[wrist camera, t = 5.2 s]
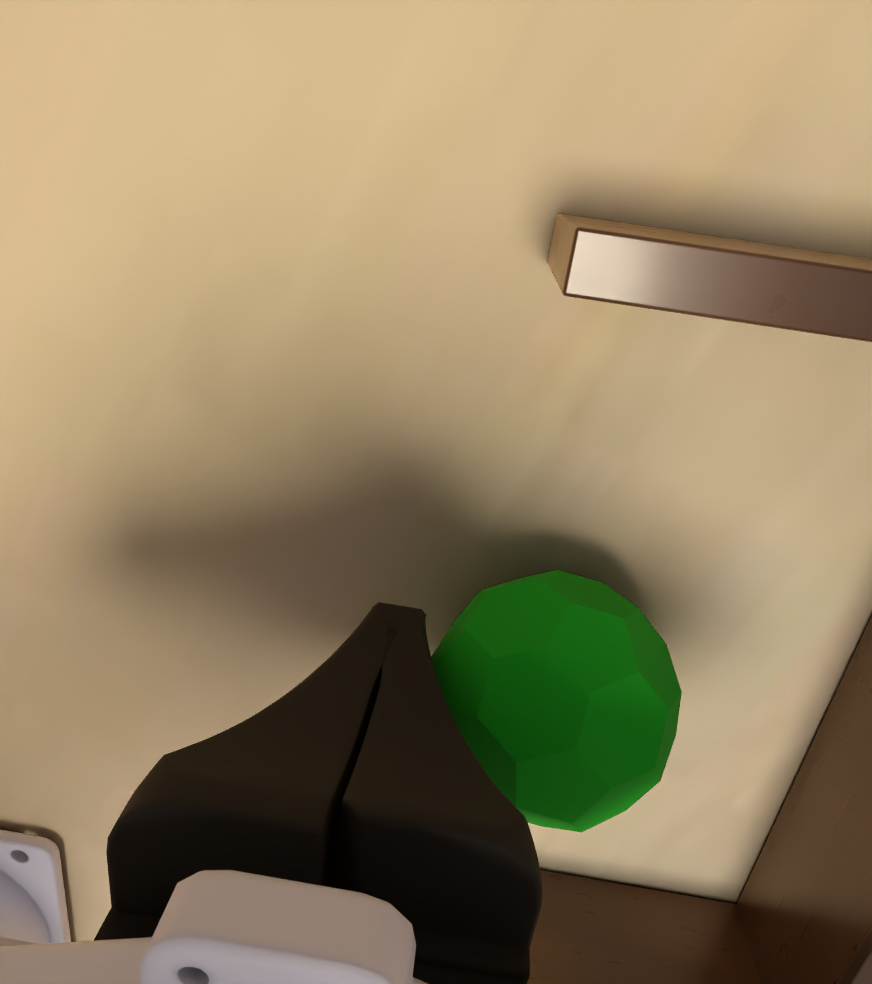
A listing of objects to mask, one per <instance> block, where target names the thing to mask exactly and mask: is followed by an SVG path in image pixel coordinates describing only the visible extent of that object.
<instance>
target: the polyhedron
mask: <svg viewBox="0 0 872 984" xmlns="http://www.w3.org/2000/svg"><path fill="white" fill-rule="evenodd" d="M431 659H432V662H433V666H434V669H435V673H436V676H437V679H438V682H439V685H440V687H441V690H442V693H443V695H444V698H445V700H446V703H447V705H448V707H449V710H450V712H451V714H452V716H453V718H454V720H455V722H456V724H457V726H458V728H459V730H460V732H461V734H462V735H463V737H464V739H465V741H466V742H467V744H468V746H469V748H470V749H471V751H472V752H473V754H474V755H475V756H476V758H477V759H478V761H479V762H480V764H481V765H482V767H483V768H484V770H485V771H486V773H487V774H488V776H489V777H490V778H491V780H492V781H493V782H494V783H495V785H496V786H497V787H498V788H499V790H500V791H501V792H502V793H503V794H504V795H505V796H506V797H507V798H508V799H509V801H510V802H511V803H512V804H513V805H514V806H515V807H516V808H517V809H518V810H519V811H520V812H521V813H522V814H523V815H524V816H525V818H526V820H527V822H529V823H532V824H536V825H539V826H544V827H551V828H558V829H564V830H571V831H577V832H583V831H585V830H587V829H589V828H591V827H593V826H595V825H597V824H599V823H601V822H603V821H605V820H607V819H609V818H612V817H614V816H616V815H618V814H620V813H622V812H624V811H626V810H627V809H628V808H629V807H630V806H631V805H633V804H634V803H635V802H636V801H637V800H639V799H640V798H641V797H642V796H643V795H644V794H646V793H647V792H648V791H649V790H650V789H651V788H653V787H654V786H655V785H656V784H657V783H658V782H660V780H661V777H662V774H663V771H664V768H665V765H666V762H667V759H668V756H669V754H670V751H671V748H672V745H673V742H674V739H675V736H676V730H677V722H678V715H679V707H680V700H681V689H680V686H679V683H678V679H677V676H676V673H675V670H674V667H673V664H672V661H671V658H670V654H669V651H668V648H667V645H666V643H665V642H664V641H663V639H662V638H661V637H660V635H659V634H658V633H657V631H656V630H655V629H654V627H653V626H652V625H651V624H650V622H649V621H648V620H647V618H646V617H645V616H644V614H643V613H642V612H641V610H640V609H639V608H638V607H637V606H635V605H634V604H633V603H631V602H630V601H628V600H627V599H625V598H624V597H623V596H621V595H620V594H618V593H617V592H615V591H614V590H613V589H611V588H610V587H608V586H607V585H605V584H604V583H601V582H598V581H594V580H591V579H588V578H584V577H581V576H578V575H574V574H571V573H568V572H564V571H561V570H555V571H550V572H546V573H541V574H536V575H531V576H527V577H522V578H519V579H516V580H512V581H509V582H506V583H502V584H499V585H496V586H493V587H489V588H486V589H483V590H481V591H480V592H479V593H478V594H477V595H476V596H475V598H474V599H473V600H472V601H471V602H470V603H469V605H468V606H467V607H466V608H465V609H464V611H463V612H462V613H461V614H460V615H459V616H458V618H457V619H456V620H455V621H454V623H453V624H452V626H451V627H450V629H449V630H448V632H447V634H446V635H445V637H444V638H443V640H442V641H441V643H440V645H439V646H438V648H437V649H436V651H435V652H434V654H433V655H432V657H431Z"/></svg>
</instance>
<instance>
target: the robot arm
mask: <svg viewBox="0 0 872 984" xmlns="http://www.w3.org/2000/svg"><path fill="white" fill-rule="evenodd" d="M425 618H426V614H425V613H424V612H423V610H422V609H417V608H411V607H405V606H399V605H393V604H387V603H380V602H379V603H377V604H375V605H374V606H373V607H372V609H371V610H370V612H369V613H368V614H367V616H366V617H365V618H364V620H363V621H362V622H361V624H360V625H359V626H358V627H357V628H356V630H355V631H354V632H353V633H352V634H351V635H350V636H349V638H348V639H347V640H346V641H345V642H344V643H343V644H342V645H341V646H340V647H339V648H338V649H337V650H336V651H335V652H334V653H333V654H332V655H331V656H330V657H329V658H328V659H327V660H326V661H325V662H324V663H323V664H322V665H321V666H320V667H318V668H317V669H316V670H315V671H314V672H313V673H312V674H311V675H310V676H309V677H307V678H306V679H305V680H304V681H302V682H301V683H300V684H299V685H297V686H296V687H295V688H294V689H292V690H291V691H290V692H288V693H287V694H286V695H284V696H283V697H281V698H280V699H279V700H277V701H276V702H274V703H272V704H271V705H269V706H268V707H266V708H265V709H263V710H262V711H260V712H259V713H257V714H255V715H254V716H252V717H250V718H249V719H247V720H245V721H243V722H241V723H239V724H237V725H235V726H234V727H232V728H230V729H228V730H225V731H223V732H221V733H219V734H217V735H215V736H213V737H210V738H208V739H206V740H203V741H201V742H198V743H195V744H193V745H190V746H187V747H185V748H182V749H180V750H177V751H174V752H171V753H169V754H166V755H164V756H163V757H162V758H161V759H160V760H159V761H158V763H157V764H156V765H155V766H154V767H153V769H152V770H151V771H150V772H149V774H148V775H147V776H146V777H145V779H144V780H143V781H142V782H141V784H140V785H139V786H138V788H137V789H136V790H135V792H134V793H133V795H132V796H131V798H130V800H129V801H128V803H127V805H126V806H125V808H124V810H123V812H122V813H121V815H120V817H119V818H118V820H117V822H116V823H115V825H114V827H113V829H112V831H111V833H110V835H109V836H108V843H107V863H108V873H109V884H110V894H111V905H112V908H111V909H110V911H109V913H108V915H107V917H106V919H105V920H104V922H103V924H102V926H101V928H100V930H99V932H98V933H97V935H96V937H95V939H94V941H82V942H71V936H70V929H69V921H68V913H67V906H66V898H65V890H64V883H63V875H62V867H61V860H60V852H59V849H58V847H57V845H56V844H55V843H54V842H53V841H51V840H50V839H47V838H44V837H40V836H34V835H28V834H23V833H17V832H12V831H6V830H0V984H527V982H528V980H529V976H530V945H531V941H532V938H533V934H534V931H535V927H536V924H537V921H538V917H539V914H540V910H541V906H542V896H543V889H542V879H541V873H540V868H539V863H538V858H537V854H536V850H535V846H534V842H533V839H532V835H531V832H530V829H529V826H528V823H527V820H526V818H525V816H524V815H523V814H522V813H521V812H520V811H519V810H518V809H517V808H516V807H515V806H514V805H513V804H512V803H511V802H510V801H509V799H508V798H507V797H506V796H505V795H504V794H503V793H502V792H501V791H500V790H499V788H498V787H497V786H496V785H495V783H494V782H493V781H492V780H491V778H490V777H489V776H488V774H487V773H486V771H485V770H484V768H483V767H482V765H481V764H480V762H479V761H478V759H477V758H476V756H475V755H474V754H473V752H472V751H471V749H470V748H469V746H468V744H467V742H466V741H465V739H464V737H463V735H462V734H461V732H460V730H459V728H458V726H457V724H456V722H455V720H454V718H453V716H452V714H451V712H450V710H449V707H448V705H447V703H446V700H445V698H444V695H443V693H442V690H441V687H440V685H439V682H438V679H437V676H436V673H435V669H434V666H433V662H432V659H431V655H430V651H429V646H428V641H427V635H426V626H425Z"/></svg>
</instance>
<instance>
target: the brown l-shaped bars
mask: <svg viewBox="0 0 872 984" xmlns="http://www.w3.org/2000/svg"><path fill="white" fill-rule="evenodd" d="M548 264H549V266H550V269H551V271H552V273H553V275H554V277H555V279H556V281H557V283H558V285H559V287H560V289H561V291H562V293H563V295H565V296H569V297H575V298H582V299H589V300H595V301H602V302H609V303H615V304H622V305H629V306H635V307H642V308H648V309H655V310H662V311H668V312H675V313H682V314H688V315H695V316H702V317H708V318H715V319H722V320H728V321H735V322H741V323H748V324H755V325H761V326H768V327H775V328H781V329H788V330H795V331H801V332H808V333H815V334H821V335H828V336H834V337H841V338H848V339H854V340H861V341H868V342H872V259H866V258H859V257H853V256H846V255H839V254H832V253H826V252H819V251H812V250H805V249H798V248H792V247H785V246H778V245H771V244H764V243H758V242H751V241H744V240H737V239H730V238H724V237H717V236H710V235H703V234H696V233H690V232H683V231H676V230H669V229H662V228H656V227H649V226H642V225H635V224H628V223H622V222H615V221H608V220H601V219H595V218H588V217H581V216H574V215H567V214H561V213H559V214H557V215H556V219H555V224H554V229H553V235H552V240H551V245H550V250H549V256H548ZM540 873H541V879H542V889H543V896H542V906H541V910H540V914H539V917H538V921H537V924H536V927H535V931H534V934H533V938H532V941H531V945H530V976H529V980H528V982H527V984H872V617H871V619H870V621H869V623H868V625H867V627H866V629H865V632H864V634H863V636H862V638H861V640H860V642H859V644H858V647H857V649H856V651H855V653H854V655H853V657H852V659H851V661H850V664H849V666H848V668H847V670H846V672H845V674H844V676H843V679H842V681H841V683H840V685H839V687H838V689H837V691H836V693H835V696H834V698H833V700H832V702H831V704H830V706H829V708H828V711H827V713H826V715H825V717H824V719H823V721H822V723H821V726H820V728H819V730H818V732H817V734H816V736H815V738H814V740H813V743H812V745H811V747H810V749H809V751H808V753H807V755H806V758H805V760H804V762H803V764H802V766H801V768H800V770H799V773H798V775H797V777H796V779H795V781H794V783H793V785H792V787H791V790H790V792H789V794H788V796H787V798H786V800H785V802H784V805H783V807H782V809H781V811H780V813H779V815H778V817H777V819H776V822H775V824H774V826H773V828H772V830H771V832H770V834H769V837H768V839H767V841H766V843H765V845H764V847H763V849H762V852H761V854H760V856H759V858H758V860H757V862H756V864H755V866H754V869H753V871H752V873H751V875H750V877H749V879H748V881H747V884H746V886H745V888H744V890H743V892H742V894H741V896H740V898H739V901H738V903H737V904H732V903H727V902H721V901H715V900H710V899H704V898H698V897H692V896H687V895H681V894H675V893H669V892H664V891H658V890H652V889H646V888H641V887H635V886H629V885H624V884H618V883H612V882H606V881H601V880H595V879H589V878H583V877H578V876H572V875H566V874H560V873H555V872H549V871H543V870H540Z"/></svg>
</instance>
